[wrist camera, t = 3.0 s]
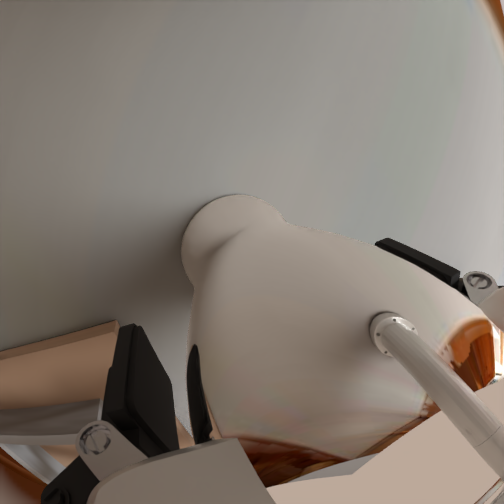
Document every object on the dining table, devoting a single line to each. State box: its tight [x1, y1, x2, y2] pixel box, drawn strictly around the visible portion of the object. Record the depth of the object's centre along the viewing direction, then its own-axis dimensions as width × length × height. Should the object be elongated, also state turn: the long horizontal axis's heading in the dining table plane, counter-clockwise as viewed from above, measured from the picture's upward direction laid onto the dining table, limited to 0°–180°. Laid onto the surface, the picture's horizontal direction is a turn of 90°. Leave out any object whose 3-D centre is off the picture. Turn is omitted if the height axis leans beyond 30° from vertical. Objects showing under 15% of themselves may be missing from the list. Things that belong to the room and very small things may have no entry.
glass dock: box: [0, 320, 195, 484], centre depth 16 cm, size 22×20×4 cm
